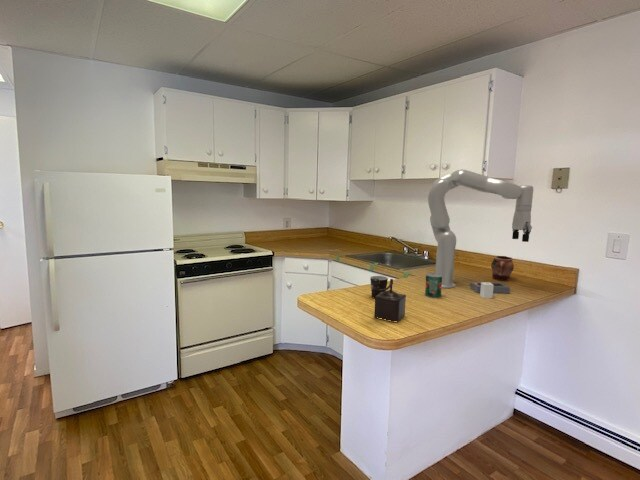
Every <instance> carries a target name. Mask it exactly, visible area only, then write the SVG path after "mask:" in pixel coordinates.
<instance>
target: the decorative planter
mask: <svg viewBox="0 0 640 480" xmlns="http://www.w3.org/2000/svg"><path fill="white" fill-rule="evenodd" d="M490 265H491V266H490V268H491V272H492V273H491V274H492V279H493V280H496V281H509V280H510V277H511V275H512V272H513V271H514V262H513V258H512V257H511V256H506V255H497V256H494V257H493V260H492V261H491V263H490Z"/></svg>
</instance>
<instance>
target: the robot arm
mask: <svg viewBox="0 0 640 480" xmlns="http://www.w3.org/2000/svg"><path fill="white" fill-rule="evenodd" d="M459 186H462V187H465V188H468V189H472V190H475V191H478V192H482V193H490V194H494V195H497V196H501V197H502V198H503V199H506V200H515V208H514V210H515V211H514V213H513V217H512V223H511V228H512V235H511V236H512V237H511V238H512V239H513V240H519V237H520V232H519V231H522V237H521V242H522V243H523V242H525V243H529V241H530V235H531V231H532V229H533V226H532V225H531V223H532V221H531V220H532V208H533V207H532V206H533V199H534V198H533V197H534V186H532V185H527V184H526V185H524V184H523V185H522V184H521V185H518V184H515V183H512V182H509V181H505V180H501V179H497V178H495V177H491V176H487V175H484V174H481V173H477V172H474V171H472V170H467V169H463V168H462V169H458V170H456V171H453V172H450V173H449V174H447V175H444V176H442V177H440V178H437V179H436V180H434V181H433V182H432V185H431V188H430V190H429V191H428V195H427V203H428V207H429V212H430V218H429V222H430V225H431V230H432V232H433V236H434V239H435V241H436V242H437V248H436V256H435V257H436V259H435V273H437V274H441V275H442V288H443V289H451V288H455V287H456V283H454V281H453V280H454V266H455V252H456V246H457V236H456V234H455V233H454V231H452V230H451V227H450V220H451V219H450V216H449V212H448V209H447V207H446V202H445V197H446V195H447V193H448V192H449V191H451V190H453V189H455V188H457V187H459Z"/></svg>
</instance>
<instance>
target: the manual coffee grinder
mask: <svg viewBox="0 0 640 480" xmlns="http://www.w3.org/2000/svg"><path fill="white" fill-rule="evenodd" d="M389 281H390V282H389V285H387V287H386V288H385V289H379V287H378V285H379V284H380V280H379V279H377V278H373V279H371V280H370V286H371V285H372V286H373V287H372V289H373V290H378V291H383V292H380V293H379V294H378V295H377V296H375V299H374V316H373V318H374V317H378V318H382V319H386V320H391V321H399V320H400V319H401V318H402V317H403V316H404V315H406V298H407V295H406V294H402V293H398V292H396V291H394V290H393V285H394V279H393V278H391V279H390V280H389ZM404 317H405V316H404ZM404 317H403V318H404ZM403 318H402V319H403ZM402 319H401V320H402ZM401 320H400V321H401ZM400 321H399V322H400Z"/></svg>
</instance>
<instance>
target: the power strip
mask: <svg viewBox="0 0 640 480" xmlns="http://www.w3.org/2000/svg"><path fill="white" fill-rule="evenodd" d="M490 283H491V284H493V285H494V286H493V294H499V293H500V294H501V293H502V294H504V295H507V294H509V295H510V294H511V293H510V292H511V287H510V286H509V285H506V284H505V283H503V282H490ZM469 285H470V287H469V288H470V290H471V291H473V292H474V293H476V294H480V289H481V281H479V282H475V281H473V282H472V281H470V283H469Z"/></svg>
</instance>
